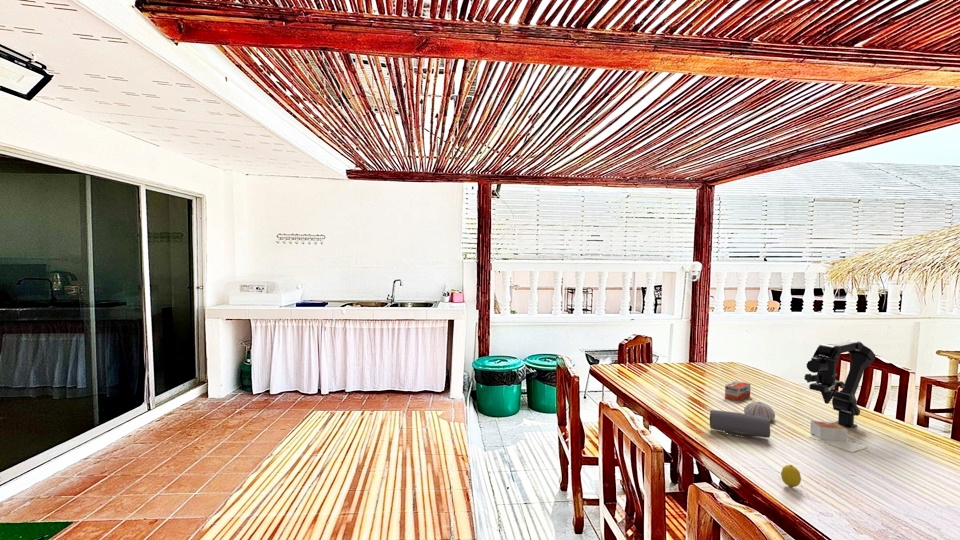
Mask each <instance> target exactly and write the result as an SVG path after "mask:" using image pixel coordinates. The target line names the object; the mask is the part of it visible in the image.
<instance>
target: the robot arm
mask: <svg viewBox="0 0 960 540" xmlns="http://www.w3.org/2000/svg"><path fill="white" fill-rule="evenodd" d="M818 345H819V346H817V348H816V350H815V352H814V353H813V355H812V357H811V358H810V359H811V360H808V361H807V363H806V368H807V370H808V371H809V372H811V373H816V374H811V373H805V374H804V376H803V377H804V378H803V379H804V380H805V381H806V383H807V384H808V383H811V384H809V387H808V389H809V390H811V391H812V390H813V391H816V392H820V394H821V395H822V399H823V401H824V404H826V405H827V404H829V403H830V402H831V403H832V404H831V405H832V409H833V410H834V411H837V412H838V415H837V416H838V419H837V420H838V421H834V423H838V424H839V425H841V426H842V427H845V428H849V429H850V428H851V429H852V428H856V427H857V426H858V424H855V423H854V422H855V416H856V417H857V416H859V415H860V413H861V409H860V408H859V406H858V405H857V403H858V401H857V397H856V392H857V390H858V387H859V384H860V382H861V380H862V377H863V375H864V372H865V369H867V368H868V367H870V366H871V365H872V364H873V363H874V361H875V359H876V354H875V353H874V352H873V350H872V349H871V348H869V347H868V346H866V345H865V344H863V342H861V341H858V340H852V339H851V340H847V341H843V342H838V343H835V344H833V343H832V344H831V343H820V344H818ZM843 353H848V354H849V355H850V356H849V359H850V361H851V366H850V367H849V370H848V373H847V377H846V379H845V381H841V380H837V379H836V377H838V374H839V373H836V368H837V363H838V362H839V359H838V357H841V354H843ZM835 387H839V388H840V389H841V390H839V389H835Z"/></svg>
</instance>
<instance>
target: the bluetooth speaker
mask: <svg viewBox="0 0 960 540" xmlns="http://www.w3.org/2000/svg"><path fill="white" fill-rule="evenodd" d="M709 412H710V413H709V428H710V429H711V430H715V431H719V432H724V433H725V434H726V433H728V434H727V435H729V434H732V435H731V436H734V435H738V436H737V437H741V436H742V438H747V437H748V438H749V439H752V438H753V437H758V438H769V439H770V437H771V425H770V423H771V421H769V419H768V418H765V417H760V416H755V415H749V414H745V413H742V412H733V411H727V410H726V411H725V410H716V409H710V410H709ZM751 437H752V438H751Z"/></svg>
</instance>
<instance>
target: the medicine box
mask: <svg viewBox="0 0 960 540" xmlns="http://www.w3.org/2000/svg"><path fill="white" fill-rule="evenodd" d="M724 387H725V388H724V398H725V399H729V400H733V401H737V402H741V401H744V400H746V399H748V398H750V397H751V383H748V382H743V381H739V380H735V381H731V382H729V383H725V386H724Z"/></svg>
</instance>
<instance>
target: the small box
mask: <svg viewBox="0 0 960 540" xmlns="http://www.w3.org/2000/svg"><path fill="white" fill-rule="evenodd" d="M809 431H810V433H811V434H812V435H813V436H814V435H815V436H817V437H818V438H820V439H824V440H835V441H848V428H847V427H845V426H842V425H839V424H838V423H835V422H830V421H820V420H819V421H817V420H810V430H809Z"/></svg>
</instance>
